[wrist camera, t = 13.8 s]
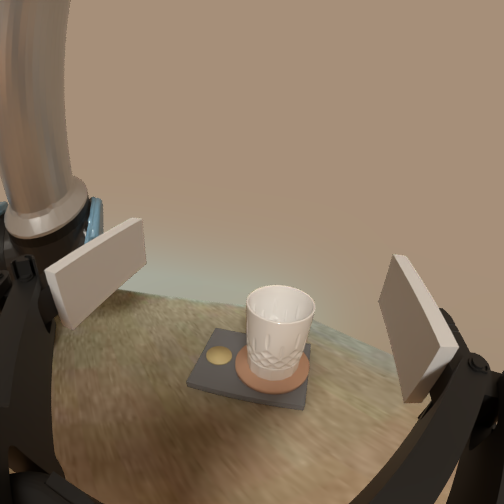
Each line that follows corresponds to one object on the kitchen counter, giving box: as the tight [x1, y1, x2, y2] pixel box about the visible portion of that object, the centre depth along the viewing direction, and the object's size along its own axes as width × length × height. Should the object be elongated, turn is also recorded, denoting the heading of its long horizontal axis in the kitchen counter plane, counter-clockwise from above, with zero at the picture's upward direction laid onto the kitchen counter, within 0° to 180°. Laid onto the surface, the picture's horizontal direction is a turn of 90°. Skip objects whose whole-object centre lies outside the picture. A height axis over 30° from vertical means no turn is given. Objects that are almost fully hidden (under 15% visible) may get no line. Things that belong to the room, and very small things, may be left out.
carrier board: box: [186, 328, 311, 410], centre depth 36 cm, size 15×12×2 cm
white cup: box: [246, 285, 316, 381], centre depth 33 cm, size 8×8×10 cm
